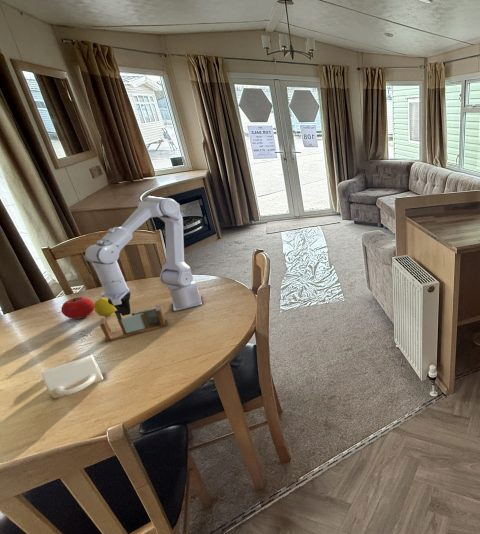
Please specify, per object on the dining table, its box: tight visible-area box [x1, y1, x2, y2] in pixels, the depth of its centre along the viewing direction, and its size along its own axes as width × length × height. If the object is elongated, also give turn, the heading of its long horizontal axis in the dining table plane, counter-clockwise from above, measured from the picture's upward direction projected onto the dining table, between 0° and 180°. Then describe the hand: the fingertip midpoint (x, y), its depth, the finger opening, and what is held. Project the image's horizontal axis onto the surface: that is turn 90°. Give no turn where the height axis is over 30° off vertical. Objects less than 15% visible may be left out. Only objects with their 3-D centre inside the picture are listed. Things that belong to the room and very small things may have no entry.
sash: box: [114, 309, 149, 334], centre depth 119 cm, size 7×1×9 cm, turn 128°
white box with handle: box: [41, 354, 104, 399], centre depth 94 cm, size 12×10×8 cm
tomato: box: [60, 296, 95, 319], centre depth 128 cm, size 9×9×8 cm
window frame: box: [99, 305, 166, 342], centre depth 121 cm, size 16×4×7 cm, turn 128°
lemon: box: [94, 297, 116, 318], centre depth 128 cm, size 6×6×8 cm
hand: (126, 314), depth 118 cm, fingers closed, pressing on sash
